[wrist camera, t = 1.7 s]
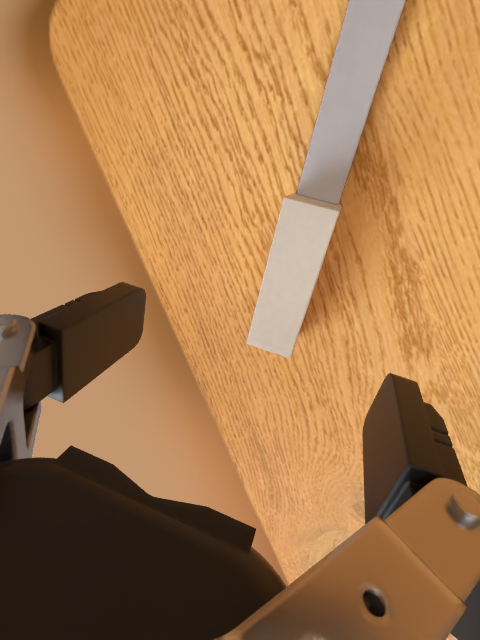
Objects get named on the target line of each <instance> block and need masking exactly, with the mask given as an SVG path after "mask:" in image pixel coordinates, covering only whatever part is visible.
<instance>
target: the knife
mask: <svg viewBox="0 0 480 640" xmlns="http://www.w3.org/2000/svg"><path fill="white" fill-rule="evenodd" d="M405 2H406V0H349V3H348V7H347V10H346V14H345V18H344V21H343V25H342V29H341V32H340V36H339V40H338V43H337V47H336V50H335V54H334V58H333V61H332V65H331V69H330V72H329V76H328V80H327V83H326V87H325V91H324V94H323V98H322V102H321V105H320V109H319V113H318V116H317V120H316V124H315V127H314V131H313V135H312V138H311V142H310V146H309V149H308V153H307V157H306V160H305V164H304V167H303V171H302V175H301V178H300V182H299V186H298V189H297V193H294V194H291V195H288V196H286V197H284V199H283V202H282V206H281V210H280V214H279V218H278V222H277V226H276V230H275V233H274V237H273V241H272V245H271V249H270V253H269V257H268V260H267V264H266V268H265V272H264V276H263V280H262V284H261V287H260V291H259V295H258V299H257V303H256V307H255V311H254V315H253V318H252V322H251V326H250V330H249V334H248V338H247V342H246V343H247V344H249V345H252V346H255V347H258V348H260V349H263V350H266V351H269V352H272V353H275V354H278V355H280V356H283V357H286V358H289V359H290V358H291V356H292V353H293V350H294V347H295V344H296V341H297V338H298V335H299V332H300V329H301V326H302V323H303V320H304V318H305V315H306V312H307V309H308V306H309V303H310V300H311V297H312V294H313V291H314V288H315V285H316V282H317V279H318V276H319V273H320V270H321V267H322V264H323V261H324V258H325V255H326V252H327V249H328V246H329V243H330V240H331V237H332V234H333V231H334V228H335V225H336V223H337V220H338V217H339V214H340V211H341V208H342V206H341V205H339V201H340V198H341V195H342V192H343V189H344V186H345V183H346V180H347V177H348V174H349V171H350V168H351V165H352V162H353V159H354V156H355V153H356V150H357V147H358V144H359V141H360V138H361V135H362V132H363V129H364V126H365V123H366V120H367V117H368V114H369V111H370V108H371V105H372V102H373V99H374V96H375V93H376V90H377V87H378V84H379V81H380V78H381V75H382V71H383V68H384V65H385V62H386V59H387V56H388V53H389V50H390V47H391V44H392V41H393V38H394V35H395V32H396V29H397V26H398V23H399V20H400V17H401V14H402V11H403V8H404V5H405Z"/></svg>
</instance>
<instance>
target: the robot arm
mask: <svg viewBox="0 0 480 640" xmlns="http://www.w3.org/2000/svg"><path fill="white" fill-rule="evenodd" d="M145 301H146V293H145V290H143V289H142V288H139V287H136V286H133V285H130V284H127V283H124V282H121V283H118V284H116V285H114V286H112V287H110V288H107V289H105V290H103V291H98V292H93V293H88V294H85V295H83V296H81V297H79V298H77V299H75V301H74V300H72V301H70V302H68V303H65V305H61V306H58V307H56V308H54V309H52V310H50V311H47V312H45V313H43V314H41V315H38V316H36V317H34V318H32V319H29V318H27V317H24V316H20V315H10V314H8V315H7V314H5V315H0V640H446V638H447V637H448V635H449V634H450V633H451V634H452V635H453V636H454V637H456V638H457V639H458V640H480V495H479V494H478V493H476V492H475V491H474V490H472V489H471V488H469V487H468V486H467V484H466V481H465V478H464V475H463V472H462V470H461V467H460V464H459V461H458V459H457V456H456V453H455V450H454V448H452V446H453V445H452V442H451V439H450V437H449V436H448V431H447V428H446V425H445V423H444V420H443V418H442V417H441V416H440V415H439V414H438V412H437V411H436V410H435V409H434V408H433V406H432V405H430V404H427V403H424V402H423V399H422V396H421V393H420V389H419V386H418V383H417V382H415V381H412V380H409V379H406V378H403V377H400V376H397V375H394V374H392V373H389V374H388V375H387V376H386V378H385V379H384V381H383V383H382V385H381V387H380V389H379V391H378V393H377V395H376V397H375V399H374V401H373V403H372V405H371V407H370V409H369V411H368V413H367V416H366V419H365V422H364V426H363V465H364V498H365V525H364V526H363V527H362V528H360V529H359V530H358V531H357V532H355V533H354V534H353V535H352V536H350V537H349V538H348V539H347V540H345V541H344V542H343V543H342V544H340V545H339V546H338V547H337V548H335V549H334V550H333V551H332V552H330V553H329V554H328V555H326V556H325V557H324V558H323V559H321V560H320V561H319V562H318V563H316V564H315V565H314V566H313V567H311V568H310V569H309V570H308V571H306V572H305V573H304V574H303V575H301V576H300V577H299V578H298V579H296V580H295V581H294V582H293V583H291V584H290V585H289V586H288V587H286V585H285V584H284V582H283V581H282V579H281V577H280V576H279V575H278V574H277V572H276V571H275V570H274V569H273V567H272V566H271V565H270V564H269V563H268V562H267V561H266V560H265V559H264V557H263V556H262V555H261V554H260V553H258V552H257V551H256V550H255V549H254V548H252V547H251V546H252V542H253V539H254V535H255V531H256V529H255V528H253V527H251V526H249V525H246V524H244V523H242V522H240V521H238V520H235V519H233V518H231V517H229V516H227V515H224V514H222V513H220V512H218V511H215V510H213V509H211V508H209V507H206V506H200V505H195V504H189V503H184V502H178V501H173V500H167V499H162V498H156V497H153V496H151V495H149V494H147V493H146V492H145V491H144V490H143V489H141V488H140V487H139V486H138V485H137V484H135V483H134V482H133V481H132V480H131V479H130V478H128V477H127V476H126V475H125V474H124V473H122V472H121V471H120V470H119V469H118V468H117V467H115V466H114V465H113V464H111V463H109V462H107V461H104V460H102V459H100V458H98V457H95V456H93V455H91V454H89V453H87V452H84V451H82V450H80V449H78V448H75V447H73V446H70V447H69V448H68V449H67V450H66V451H65V452H64V453H62V454H61V455H60V456H59V457H58V458H57V459H55V458H31V457H32V451H33V446H34V441H35V437H36V432H37V427H38V421H39V417H40V412H41V400H42V399H43V398H45V397H46V396H48V397H50V398H53V399H55V400H57V401H60V402H62V403H64V402H65V401H67V400H68V399H69V398H71V397H72V396H73V395H74V394H76V393H77V392H78V391H79V390H81V389H82V388H83V387H84V386H86V385H87V384H88V383H90V382H91V381H92V380H93V379H95V378H96V377H97V376H99V375H100V374H101V373H102V372H104V371H105V370H106V369H107V368H109V367H110V366H111V365H113V364H114V363H115V362H116V361H117V360H119V359H120V358H121V357H123V356H124V355H125V354H127V353H128V352H129V351H130V350H132V349H133V348H134V347H135V346H136V345H137V343H138V342H139V340H140V338H141V335H142V331H143V323H144V312H145Z"/></svg>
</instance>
